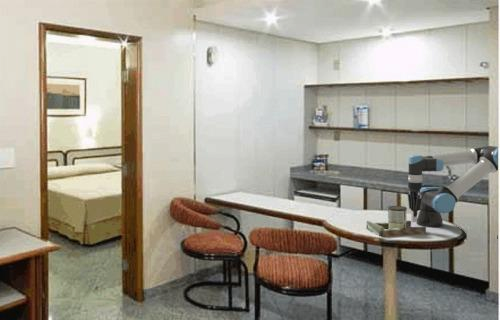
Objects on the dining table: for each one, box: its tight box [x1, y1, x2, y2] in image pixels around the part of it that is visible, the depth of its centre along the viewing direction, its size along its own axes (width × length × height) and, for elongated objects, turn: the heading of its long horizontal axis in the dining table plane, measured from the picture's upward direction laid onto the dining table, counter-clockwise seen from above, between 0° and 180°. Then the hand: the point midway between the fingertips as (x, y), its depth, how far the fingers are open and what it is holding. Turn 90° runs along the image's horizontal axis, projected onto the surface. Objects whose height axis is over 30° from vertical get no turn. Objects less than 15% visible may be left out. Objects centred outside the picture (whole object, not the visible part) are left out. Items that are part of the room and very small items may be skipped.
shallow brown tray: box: [366, 220, 427, 237], centre depth 269 cm, size 28×18×5 cm, turn 102°
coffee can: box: [387, 205, 408, 229], centre depth 269 cm, size 10×10×14 cm
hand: (414, 221), depth 271 cm, fingers closed
